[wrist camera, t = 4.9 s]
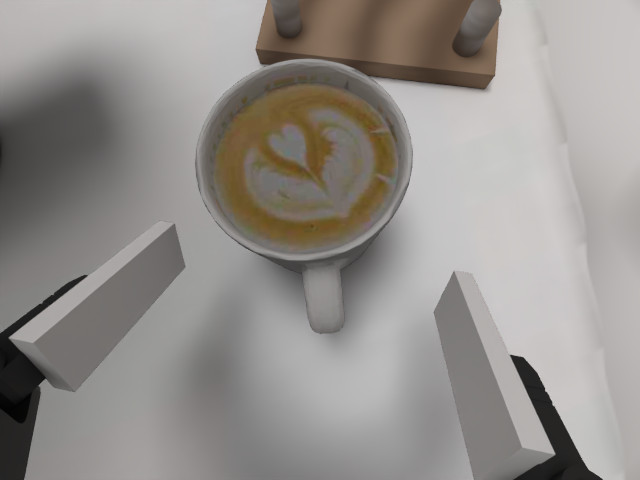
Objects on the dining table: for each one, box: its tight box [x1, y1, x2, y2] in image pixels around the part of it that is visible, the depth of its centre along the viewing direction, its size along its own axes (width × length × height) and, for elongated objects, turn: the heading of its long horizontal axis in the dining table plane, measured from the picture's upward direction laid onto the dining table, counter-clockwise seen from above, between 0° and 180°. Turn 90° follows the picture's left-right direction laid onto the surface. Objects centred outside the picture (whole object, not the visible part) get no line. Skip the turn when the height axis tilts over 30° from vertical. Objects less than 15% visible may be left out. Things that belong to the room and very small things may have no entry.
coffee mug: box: [195, 59, 413, 334], centre depth 17 cm, size 13×10×10 cm
